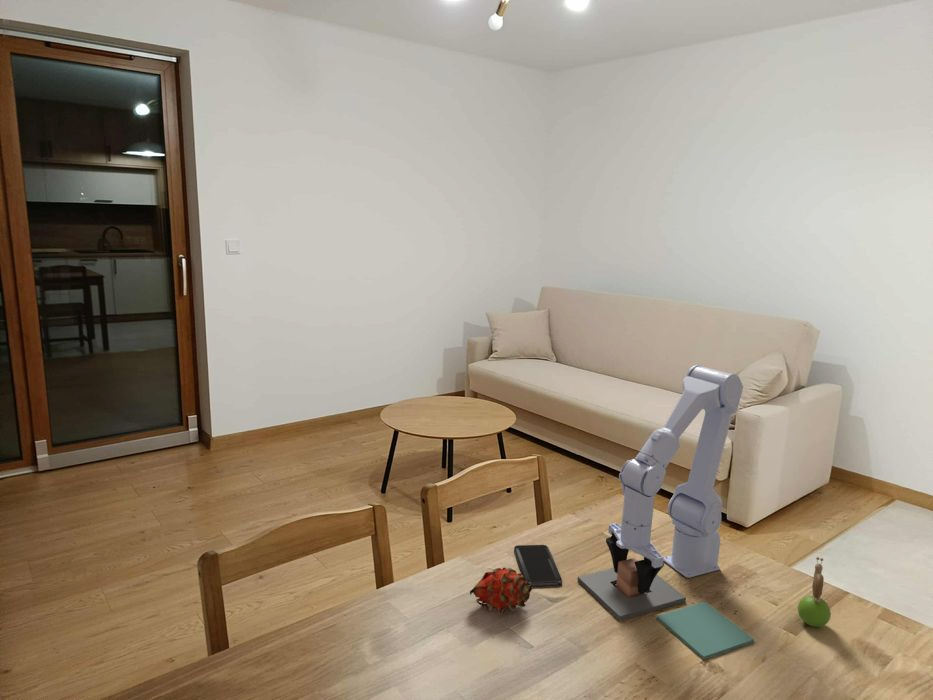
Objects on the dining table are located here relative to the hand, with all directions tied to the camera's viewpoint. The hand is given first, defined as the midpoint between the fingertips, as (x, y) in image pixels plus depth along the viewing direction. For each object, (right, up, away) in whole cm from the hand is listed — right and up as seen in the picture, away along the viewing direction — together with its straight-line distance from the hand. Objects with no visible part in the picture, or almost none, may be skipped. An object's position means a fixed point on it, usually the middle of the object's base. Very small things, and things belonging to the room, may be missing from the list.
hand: (631, 581), depth 127 cm
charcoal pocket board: (0, -2, +1) cm, 2 cm away
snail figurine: (+32, -5, -8) cm, 34 cm away
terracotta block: (0, -2, +1) cm, 2 cm away
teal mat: (+11, -5, -11) cm, 16 cm away
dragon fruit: (-27, -3, -6) cm, 27 cm away
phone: (-18, 0, +9) cm, 20 cm away
